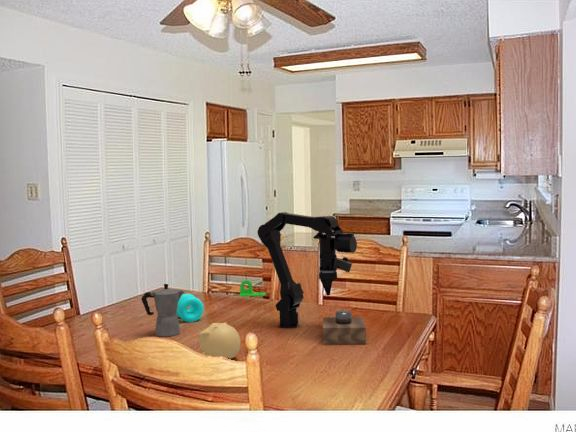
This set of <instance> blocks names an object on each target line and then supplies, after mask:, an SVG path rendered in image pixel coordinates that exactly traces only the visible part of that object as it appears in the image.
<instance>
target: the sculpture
mask: <svg viewBox="0 0 576 432" xmlns="http://www.w3.org/2000/svg"><path fill="white" fill-rule="evenodd" d="M198 339H199V341H198V344H199V348H201V349H202V352H203V353H204V355H205V354H206V355H211V356H223V357H226V358H229V359H228V360H231V359H233V358H235V357H236V356H237V355H238V353H239V351H240V348H241V337H240V334H239V332H238V330H237V329H235V328H234V327H233V326H231V325H229V324H228V323H227V322H219V323H217V322H213V323H211V324H210V325H209V326H208V327H207V328H205V329H203V330H202V331H200V332H199V334H198ZM206 355H205V356H206Z"/></svg>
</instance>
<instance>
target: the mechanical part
mask: <svg viewBox="0 0 576 432" xmlns="http://www.w3.org/2000/svg"><path fill="white" fill-rule="evenodd" d="M245 285H247V286H248V288H245V287H244V286H245ZM239 287H240V288H239V290H240V293H239V295H238V297H264V296H266V294H267V292H254V291H253V283H252V281H250V280H247V279H244V280H242V282H241V283H240V285H239Z"/></svg>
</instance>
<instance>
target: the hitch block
mask: <svg viewBox="0 0 576 432" xmlns="http://www.w3.org/2000/svg"><path fill="white" fill-rule="evenodd" d="M351 317H352V323H350V324H337V323H336V316H333V317H332V316H328V317H327V316H325V317H322V344H323V345H366V344H367V328H366V324H365V323H366V322H365V320H364V317H363V316H360V317H359V316H358V317H357V316H354V317H353V316H351Z"/></svg>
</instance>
